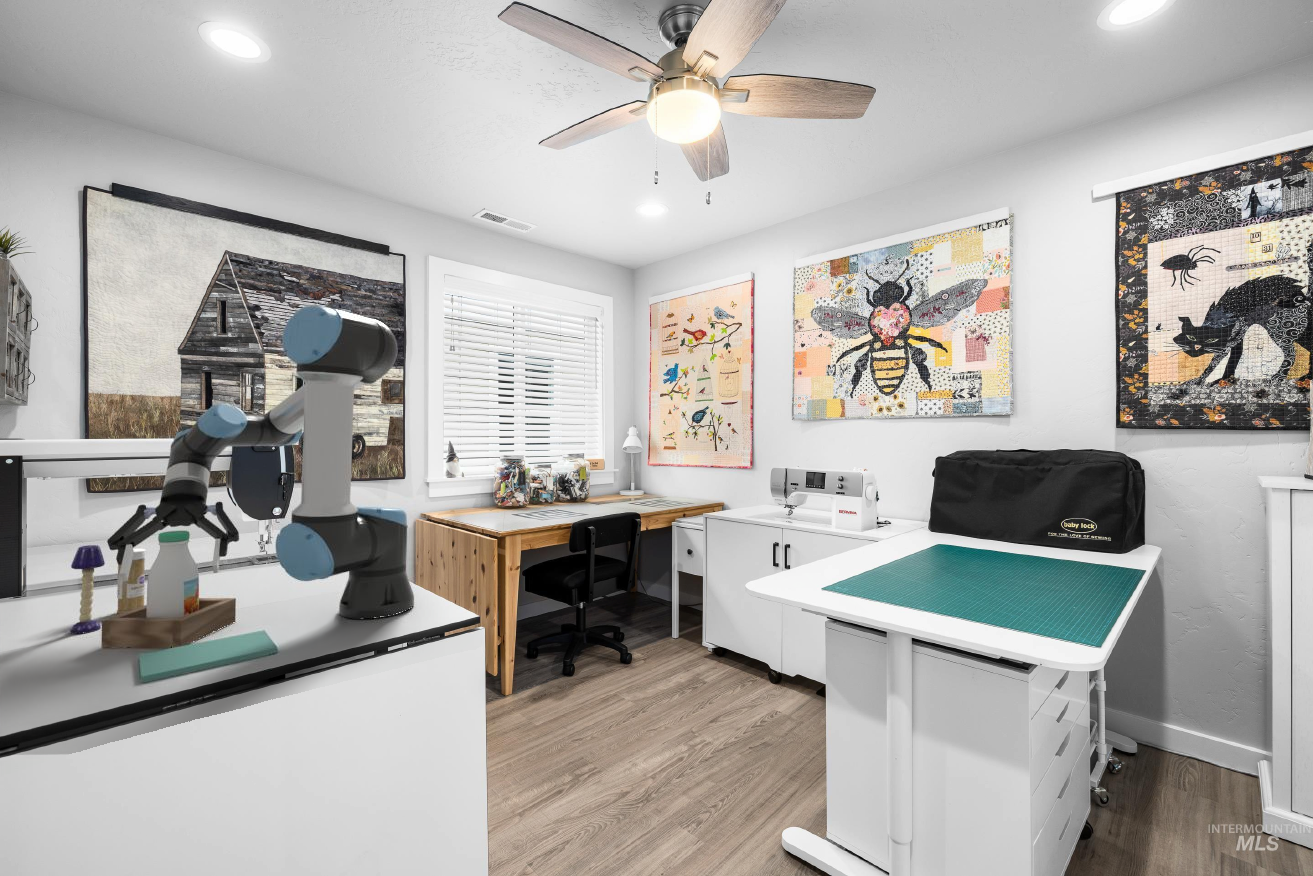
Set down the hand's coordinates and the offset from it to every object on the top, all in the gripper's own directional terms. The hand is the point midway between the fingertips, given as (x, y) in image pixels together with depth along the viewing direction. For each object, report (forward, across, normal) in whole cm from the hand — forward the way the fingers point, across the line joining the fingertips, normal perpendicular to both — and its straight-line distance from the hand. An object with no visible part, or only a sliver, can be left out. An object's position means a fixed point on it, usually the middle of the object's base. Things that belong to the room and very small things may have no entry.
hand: (170, 573), depth 108 cm
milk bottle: (+8, 0, -9) cm, 12 cm away
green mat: (+20, -8, +4) cm, 22 cm away
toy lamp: (+1, +14, -16) cm, 22 cm away
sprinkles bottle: (-7, +10, -24) cm, 27 cm away
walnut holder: (+8, 0, -9) cm, 12 cm away
